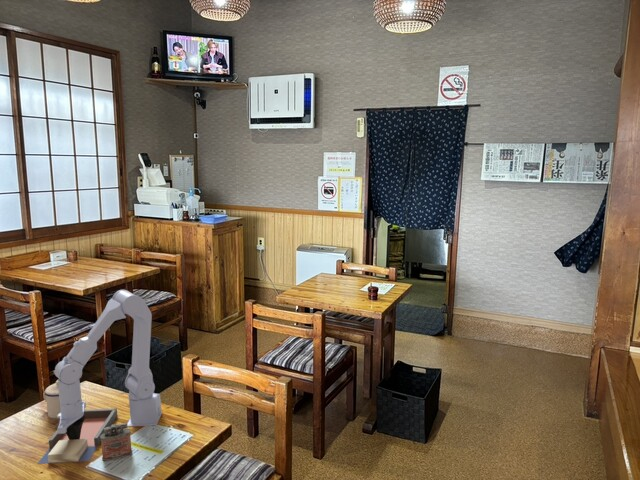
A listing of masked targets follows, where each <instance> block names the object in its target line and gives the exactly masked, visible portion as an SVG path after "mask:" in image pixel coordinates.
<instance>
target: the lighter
mask: <svg viewBox="0 0 640 480" xmlns="http://www.w3.org/2000/svg"><path fill="white" fill-rule="evenodd" d="M127 424H128V422H123V423H119V424H116V423H113V424H112V425H111V426H110V427H106V428H104V432H105V433H104V434H102V435H101V436H100V440H101V442H100V444H101V454H102V455H101V456H102V457H101V460H102V461H104V462H109V461H115V460H120V459H122V458H126V457H129V456H131V455H132V454H133V449H132V440H131V433H132V432H131V429H130V428H128V426H127Z"/></svg>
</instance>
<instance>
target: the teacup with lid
mask: <svg viewBox="0 0 640 480" xmlns="http://www.w3.org/2000/svg"><path fill="white" fill-rule="evenodd" d="M58 387H59V386H58V379H57V380H56V381H55V383H52V384H51V385H49V386H48V387H46V388H45V390H44V392H43V394H42V395H43V396H42V397H43V400H44V402H45V403H46V409H47V416H48V418H50V419H58V418H57V415H58V414H59V413H61V409H60V400H59V391H58Z"/></svg>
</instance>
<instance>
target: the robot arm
mask: <svg viewBox="0 0 640 480" xmlns="http://www.w3.org/2000/svg"><path fill="white" fill-rule="evenodd" d="M126 315H128V316H129V317H131V318H132V319H133V331H132V333H133V335H132V349H131V350H132V355H131V366H130V367H129V369H128V370H127V371H128V372H127V373H128V374H127V376H126V378H125V381H124V385H125V388H126V389H127V390H128V391H129V392H128V404H129V406H128V407H129V416H130V418H129V420H128V422H127V426H128V427H148V426H151V427H153V426H157V425H158V423H159V421H160V419H161V416H162V414H163V411H162V401H161V400H162V399H161V398H162V397H161V394H160V393H155V389H156V385H155V383H154V378H153V377H154V376H153V373H152V370H151V369H150V354H151V337H152V322H153V321H152V319H153V318H152V317H153V315H152V311H151V310H150V308H149V307H148V305H147V302H146V300H145V299H144V298H142V297H140V295H136V294H134V293H132V292H130V291H129V290H128V289H127V290H126V289H120V290H117V291H116V292H114V294H113V295H112V298H110V299H109V300H108V301H107V303H106V306H105V308H104V309H103V311H102V313H101V314H100V316H99V317H98V318H97V320H96V321H95V323H94V324H93V326H92V327H91V329H90V330H89V331H88V333H87V335H86V336H84V337H80V338H79V339H78V341H77V340H75V341H74V343H73V347H72V348H71V349H70V351H68V354H67V355H66V356H64V357H63V358H62V360H61V361H59V362H58V363H57V364H56V365H55V367H54V369H55V370H53V374H54V375H55V377H56V378H58V379H57V380H58V386H59V387H58V391H59V400H60V409H61V413H59V414H58V415H57V418H56V419H59V423H58V426H57V430H58V434H63V433H66V434H67V436H68V438H69V440H75V439H80V435H81V429H82V425H83V422H84V420H85V416H84V410H86V407H87V403H86V401H83V400H82V398H83V397H82V391H81V390H82V389H81V383H80V379H81V378H82V375H83V369H84V368H85V366H86V364H87V362H88V361H89V360H90V359H91V357H92V356H93V355H94V353H95V352H96V351H97V350H98V343H97V342H99V340H100V339H101V338H102V336H103V335H104V334H105V333H106V332H107V330H108V329H109V328H110V327H111V325H112V324H113V323H114V322H115V321H119V320H122V319H123V320H124V319H126V318H127V316H126Z"/></svg>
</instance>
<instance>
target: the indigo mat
mask: <svg viewBox="0 0 640 480" xmlns="http://www.w3.org/2000/svg"><path fill="white" fill-rule="evenodd" d="M98 447H99V446H90V447H87V449H86V450H85V452H84V453H83V455H82V456H81V457H80V459H79V460H78V461H74V462H73V463H78V462H79V463H80V462H81V463H82V462H89V461H90V459H91V458H92V457H93V455H94V453H95V452H96V450H97V448H98ZM52 449H53V448H48V450H47V451H46V452H45V453H44V455H43V456H42V457H41V458H40V460H39V461H38V462H37V465H43V464H50V463H49V461H48V454H49V453H50V451H51V450H52ZM59 463H63V464H64V462H55V463H54V464H59Z"/></svg>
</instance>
